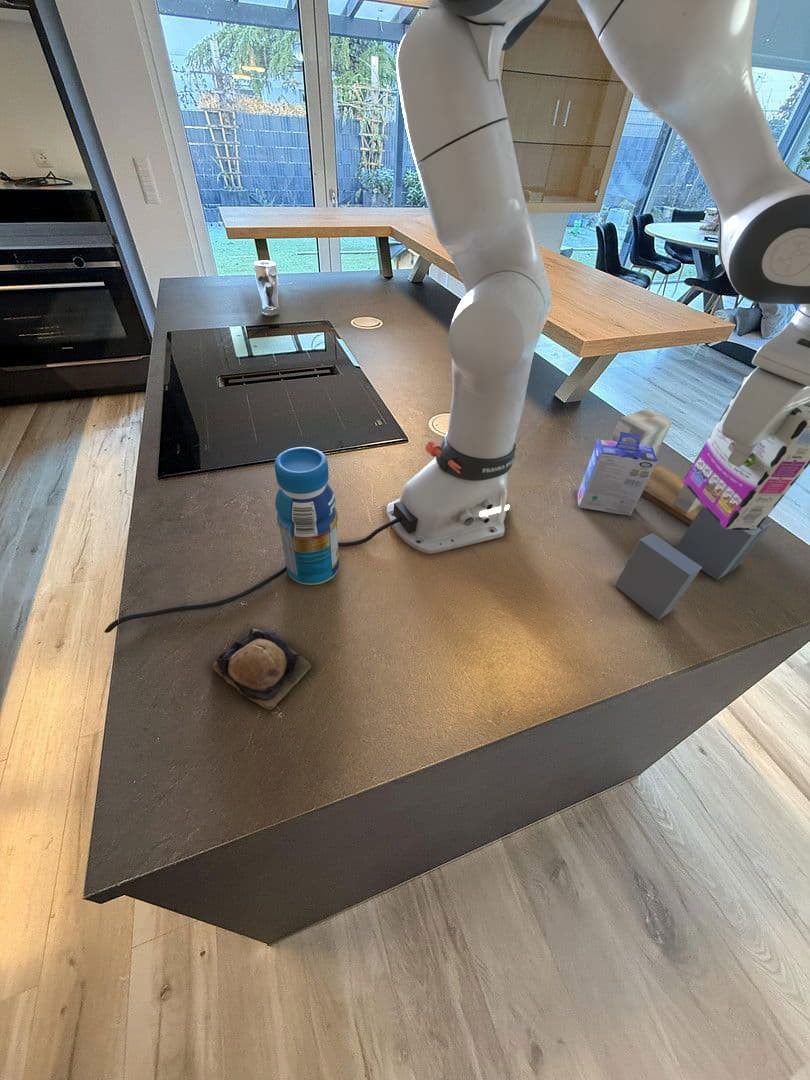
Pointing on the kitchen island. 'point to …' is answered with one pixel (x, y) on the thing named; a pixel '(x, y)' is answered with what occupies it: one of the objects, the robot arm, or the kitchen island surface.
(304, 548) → the beverage bottle
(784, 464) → the candy bar box
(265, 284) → the beer glass
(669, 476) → the wooden bookend rack
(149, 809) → the kitchen island surface
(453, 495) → the robot arm
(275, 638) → the potato on dark dish
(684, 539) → the grey blocks
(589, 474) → the ink cartridge box
